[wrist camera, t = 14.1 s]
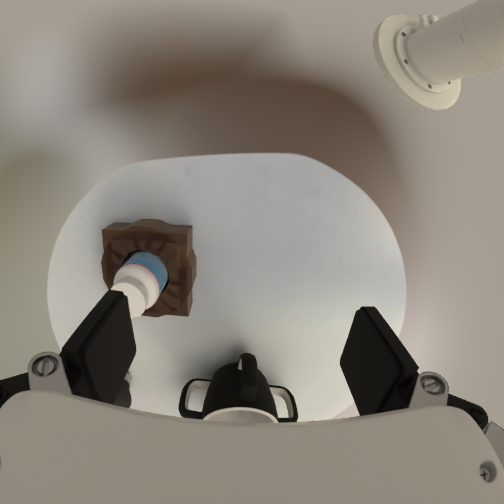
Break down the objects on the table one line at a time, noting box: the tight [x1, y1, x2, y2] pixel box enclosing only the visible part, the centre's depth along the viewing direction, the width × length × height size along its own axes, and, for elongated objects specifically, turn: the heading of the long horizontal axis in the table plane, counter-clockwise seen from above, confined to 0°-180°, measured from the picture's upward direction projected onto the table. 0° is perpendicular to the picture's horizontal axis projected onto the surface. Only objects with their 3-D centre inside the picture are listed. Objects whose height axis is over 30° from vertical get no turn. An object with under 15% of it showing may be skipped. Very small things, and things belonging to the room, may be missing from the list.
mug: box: [179, 353, 298, 423], centre depth 41 cm, size 16×16×12 cm
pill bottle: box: [111, 249, 169, 318], centre depth 33 cm, size 6×6×11 cm
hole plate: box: [101, 219, 196, 317], centre depth 37 cm, size 13×13×4 cm
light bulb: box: [113, 372, 132, 408], centre depth 41 cm, size 6×6×10 cm
